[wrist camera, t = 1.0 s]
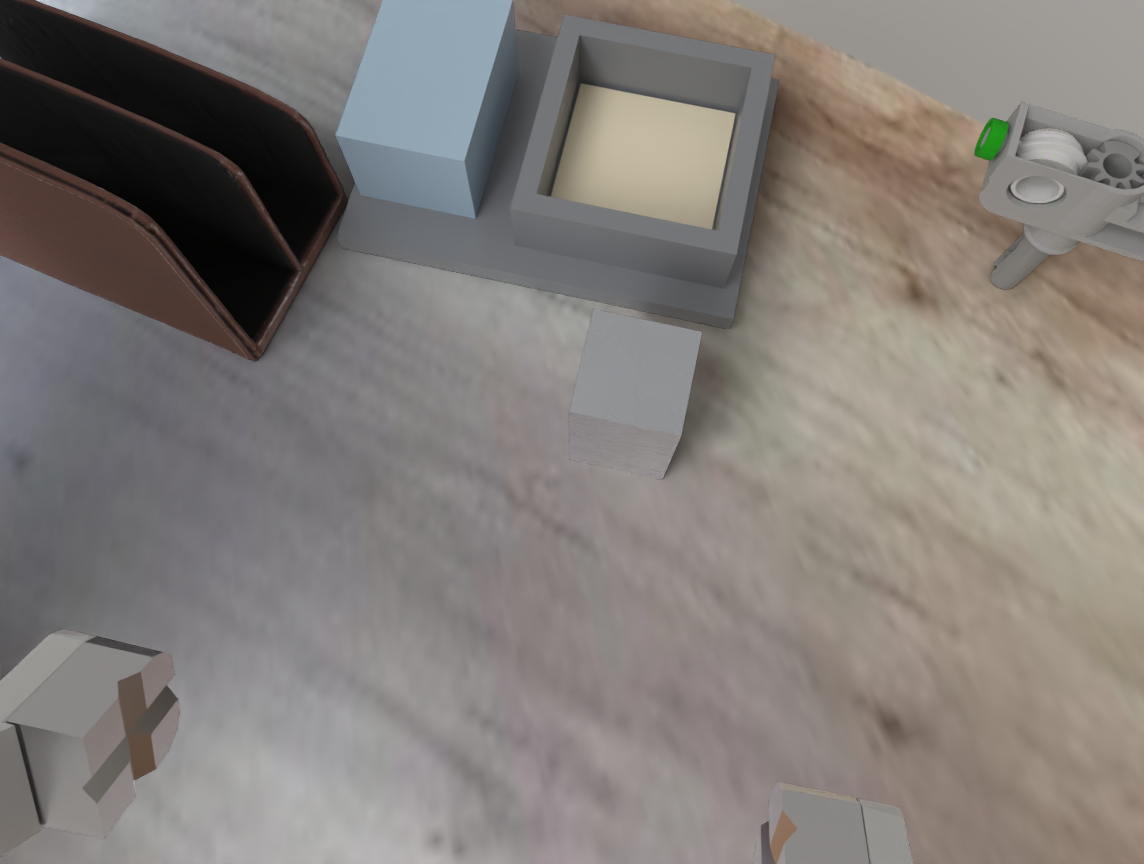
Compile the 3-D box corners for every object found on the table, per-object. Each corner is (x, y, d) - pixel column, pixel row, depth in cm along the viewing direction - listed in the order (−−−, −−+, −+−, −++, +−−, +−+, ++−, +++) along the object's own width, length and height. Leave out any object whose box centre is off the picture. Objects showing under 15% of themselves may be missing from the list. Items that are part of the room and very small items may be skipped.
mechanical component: (1098, 333, 44) (1246, 233, 34) (897, 267, 45) (986, 151, 35) (1110, 282, 44) (1258, 170, 35) (912, 218, 46) (1003, 92, 36)
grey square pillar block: (569, 459, 42) (568, 411, 35) (589, 372, 43) (593, 308, 36) (662, 479, 42) (681, 436, 34) (680, 392, 43) (702, 331, 36)
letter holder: (260, 366, 43) (120, 219, 30) (-79, 225, 46) (-353, 29, 32) (353, 201, 46) (262, -3, 32) (28, 75, 48) (-185, -166, 35)
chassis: (342, 248, 45) (307, 180, 39) (416, 25, 49) (395, -67, 43) (729, 329, 44) (754, 272, 38) (774, 94, 48) (803, 9, 42)
